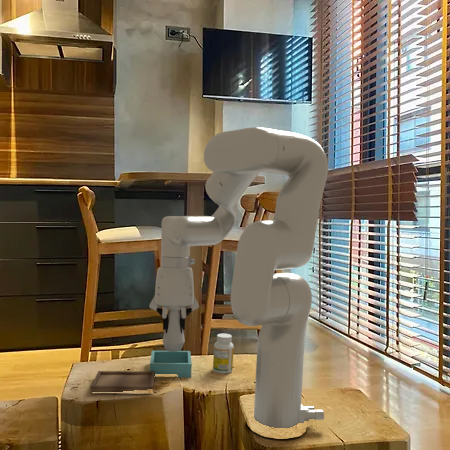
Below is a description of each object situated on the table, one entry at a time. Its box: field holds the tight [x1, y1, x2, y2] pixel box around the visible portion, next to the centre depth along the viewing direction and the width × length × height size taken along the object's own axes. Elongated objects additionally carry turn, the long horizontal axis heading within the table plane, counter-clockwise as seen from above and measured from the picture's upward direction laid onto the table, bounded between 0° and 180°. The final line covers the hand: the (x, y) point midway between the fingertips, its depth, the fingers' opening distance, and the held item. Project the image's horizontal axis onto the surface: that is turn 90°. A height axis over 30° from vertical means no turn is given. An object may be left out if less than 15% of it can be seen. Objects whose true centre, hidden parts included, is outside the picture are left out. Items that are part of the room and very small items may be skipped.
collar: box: [149, 350, 193, 378], centre depth 129 cm, size 11×11×4 cm
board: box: [90, 370, 155, 393], centre depth 117 cm, size 14×10×2 cm
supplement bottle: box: [212, 333, 235, 375], centre depth 131 cm, size 5×5×10 cm
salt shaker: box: [162, 305, 186, 352], centre depth 128 cm, size 6×6×13 cm
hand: (173, 331), depth 128 cm, fingers closed on salt shaker, 3 cm apart
